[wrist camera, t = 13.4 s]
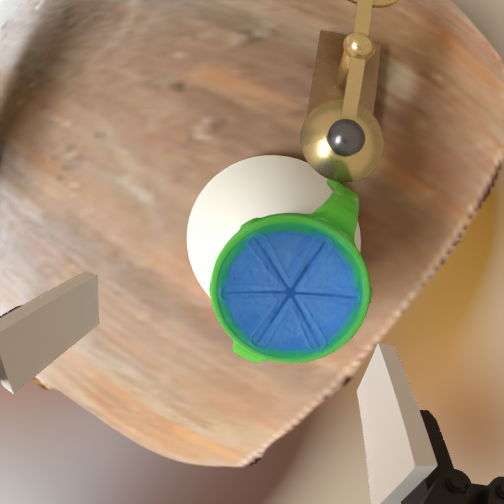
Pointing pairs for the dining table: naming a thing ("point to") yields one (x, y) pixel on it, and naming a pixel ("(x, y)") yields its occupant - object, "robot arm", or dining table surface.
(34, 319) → the robot arm
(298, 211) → the dish
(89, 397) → the dining table surface
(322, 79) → the balance
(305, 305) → the snack cup
